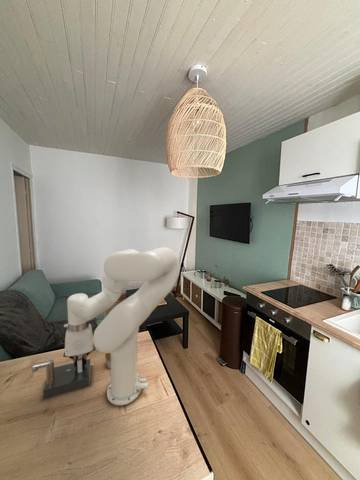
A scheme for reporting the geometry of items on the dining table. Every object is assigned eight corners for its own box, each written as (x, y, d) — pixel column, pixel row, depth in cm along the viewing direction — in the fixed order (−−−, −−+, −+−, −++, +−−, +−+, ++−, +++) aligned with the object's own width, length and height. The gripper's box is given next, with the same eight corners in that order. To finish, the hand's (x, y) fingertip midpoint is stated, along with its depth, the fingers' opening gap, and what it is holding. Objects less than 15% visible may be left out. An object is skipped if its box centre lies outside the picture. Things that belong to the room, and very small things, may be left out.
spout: (55, 380, 74) (54, 357, 73) (54, 385, 72) (52, 362, 70) (34, 386, 71) (32, 362, 70) (32, 391, 69) (30, 367, 68)
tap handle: (79, 362, 83) (78, 351, 82) (83, 361, 83) (82, 350, 83) (77, 373, 77) (77, 361, 77) (82, 372, 78) (81, 359, 77)
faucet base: (94, 365, 86) (94, 357, 86) (94, 384, 76) (93, 376, 76) (50, 376, 80) (50, 367, 80) (43, 398, 70) (43, 389, 70)
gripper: (54, 334, 72) (56, 379, 74) (100, 325, 78) (101, 367, 80) (58, 323, 79) (60, 365, 81) (99, 316, 85) (101, 355, 87)
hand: (80, 366), depth 80 cm, fingers closed on tap handle
